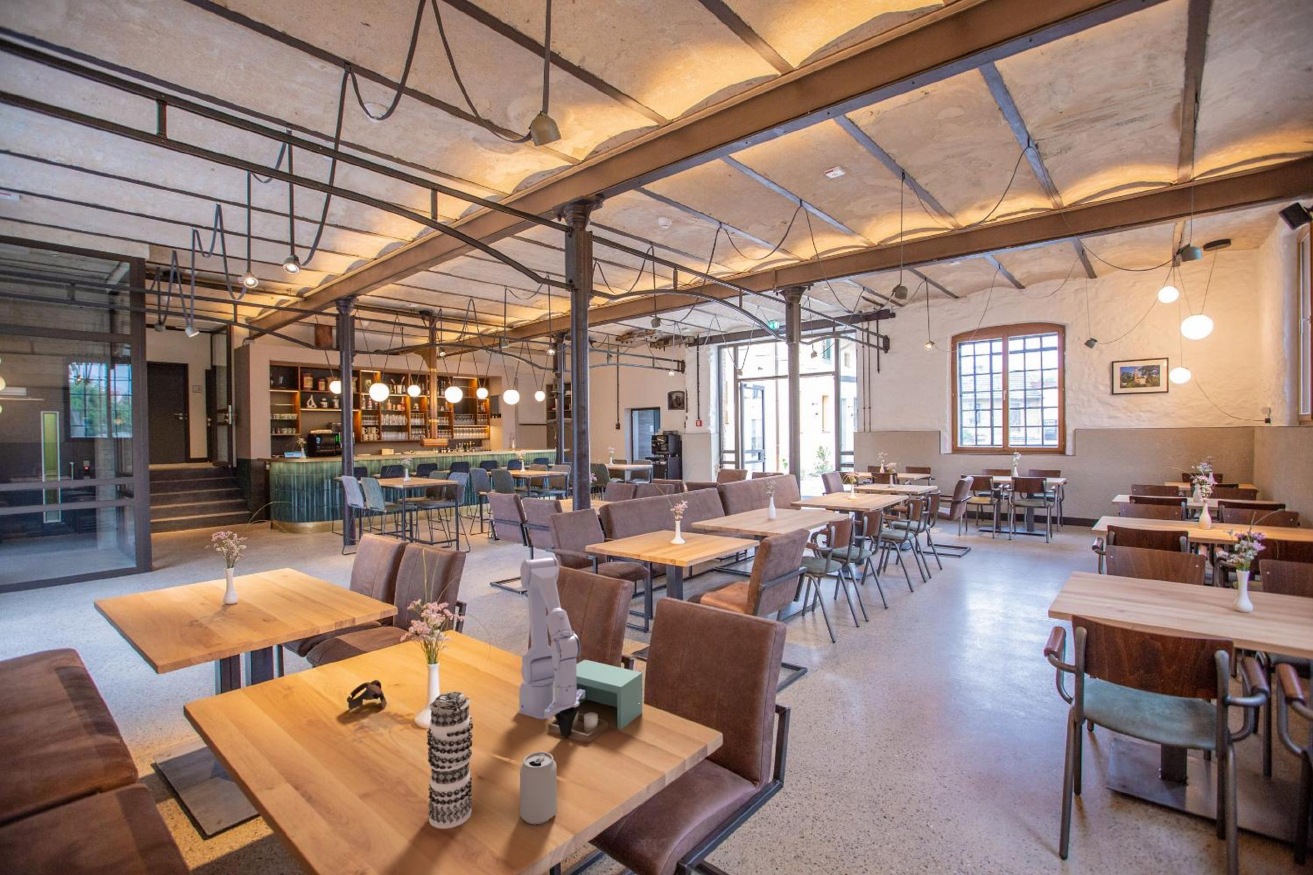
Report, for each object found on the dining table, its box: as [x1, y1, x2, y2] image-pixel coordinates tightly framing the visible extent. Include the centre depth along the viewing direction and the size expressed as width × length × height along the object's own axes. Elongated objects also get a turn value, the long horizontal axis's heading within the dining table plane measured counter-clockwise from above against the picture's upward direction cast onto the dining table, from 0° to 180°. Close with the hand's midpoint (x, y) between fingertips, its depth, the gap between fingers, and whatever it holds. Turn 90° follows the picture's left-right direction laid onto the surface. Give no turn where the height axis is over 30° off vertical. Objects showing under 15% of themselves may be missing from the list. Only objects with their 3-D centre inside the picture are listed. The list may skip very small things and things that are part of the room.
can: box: [519, 751, 558, 825], centre depth 126 cm, size 8×8×12 cm
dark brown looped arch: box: [346, 679, 388, 710], centre depth 176 cm, size 12×9×8 cm
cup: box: [572, 711, 579, 728], centre depth 163 cm, size 4×4×4 cm
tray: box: [547, 712, 609, 744], centre depth 161 cm, size 13×9×2 cm
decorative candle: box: [426, 691, 474, 830], centre depth 126 cm, size 9×9×25 cm
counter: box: [576, 659, 643, 730], centre depth 170 cm, size 20×11×12 cm, turn 60°
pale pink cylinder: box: [584, 712, 599, 734], centre depth 160 cm, size 4×4×4 cm
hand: (565, 735), depth 156 cm, fingers closed
